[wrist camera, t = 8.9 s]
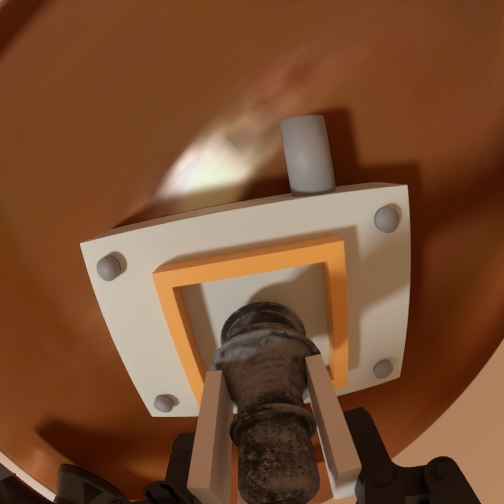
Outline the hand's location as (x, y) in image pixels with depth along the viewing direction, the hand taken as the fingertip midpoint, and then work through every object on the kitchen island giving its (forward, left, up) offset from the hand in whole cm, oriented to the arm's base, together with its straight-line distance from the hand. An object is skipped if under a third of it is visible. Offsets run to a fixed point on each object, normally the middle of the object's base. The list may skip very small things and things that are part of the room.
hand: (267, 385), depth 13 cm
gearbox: (0, +2, -11) cm, 11 cm away
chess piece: (0, 0, -4) cm, 4 cm away
